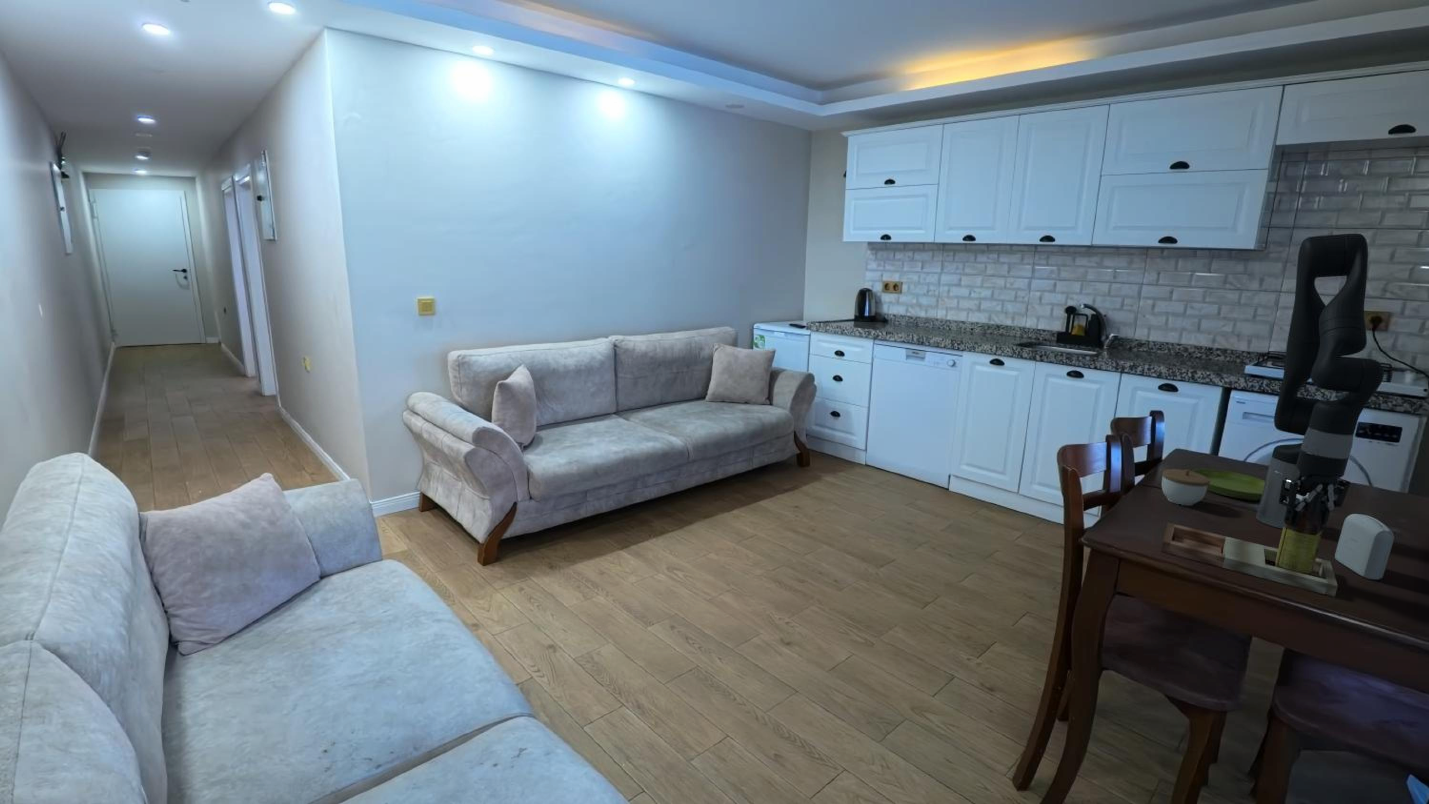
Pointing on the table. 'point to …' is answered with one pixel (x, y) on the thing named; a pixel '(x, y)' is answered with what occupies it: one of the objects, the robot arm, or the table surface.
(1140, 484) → the table surface
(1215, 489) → the saucer
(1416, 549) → the table surface
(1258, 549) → the birch rail plate
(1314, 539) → the sauce bottle
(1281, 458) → the robot arm
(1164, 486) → the lidded jar
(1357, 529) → the photo printer
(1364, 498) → the table surface
